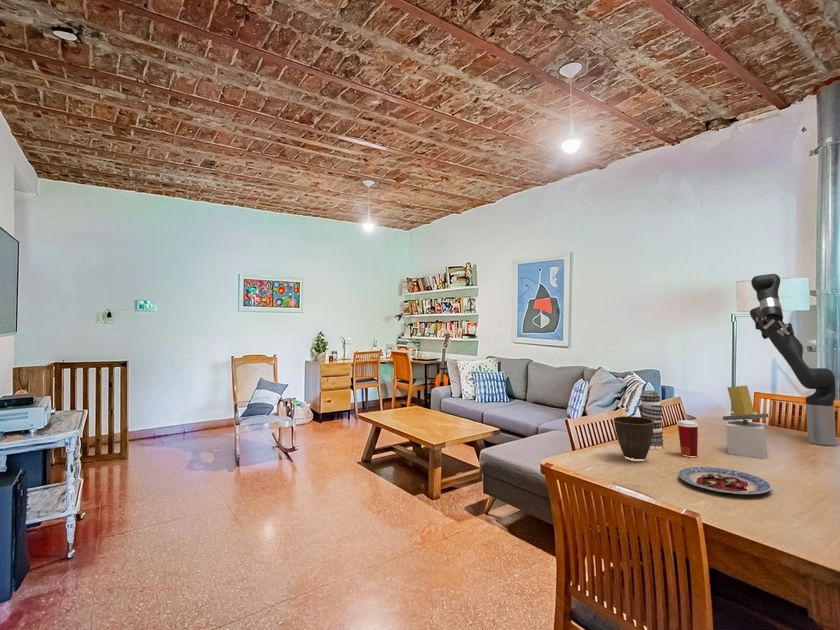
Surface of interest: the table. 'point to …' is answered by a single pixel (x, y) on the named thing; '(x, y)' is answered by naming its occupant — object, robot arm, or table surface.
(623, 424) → the plant pot
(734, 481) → the ceramic plate
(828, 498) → the table surface
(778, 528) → the table surface
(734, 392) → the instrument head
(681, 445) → the paper cup
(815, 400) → the robot arm
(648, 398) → the grey striped cylinder
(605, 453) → the table surface
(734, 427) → the stand
